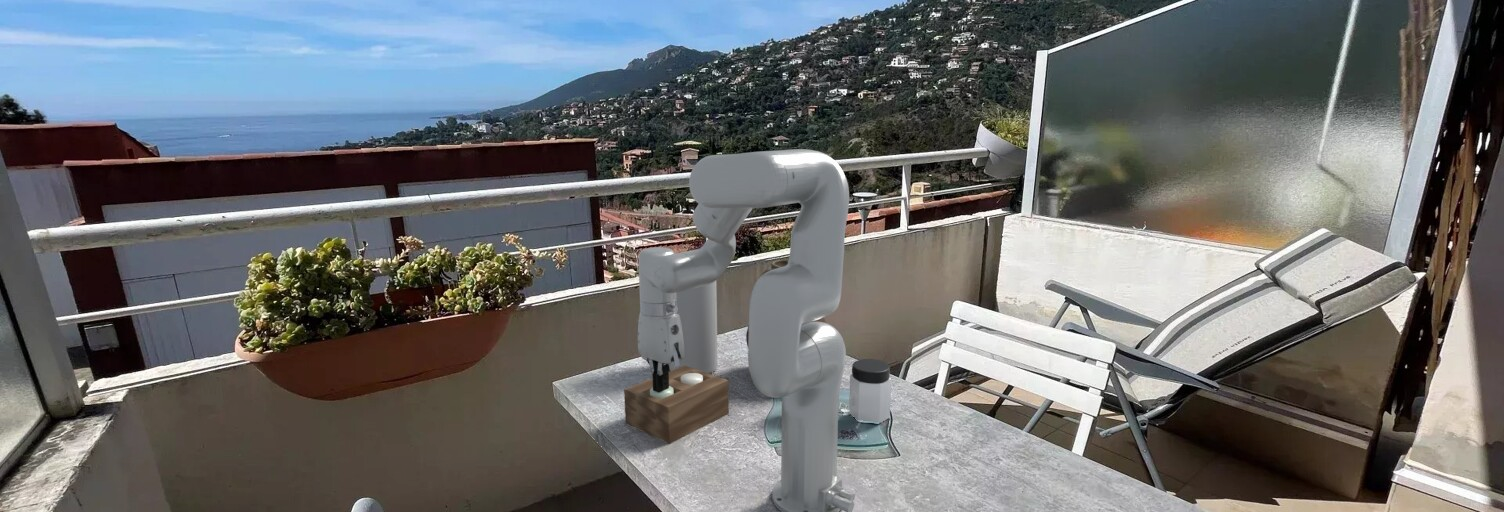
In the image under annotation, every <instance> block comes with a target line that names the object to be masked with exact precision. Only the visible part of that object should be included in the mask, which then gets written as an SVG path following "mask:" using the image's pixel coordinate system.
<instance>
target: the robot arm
mask: <svg viewBox="0 0 1504 512" xmlns="http://www.w3.org/2000/svg"><path fill="white" fill-rule="evenodd" d="M688 180H689V181H688V187H689V191H690V194H691V197H692V198H693V199H694V201H695V202H696V203H697V206H696V207H695V209H694V210H693V213H692V221H693V225H694V227H695V229H697V231H698V232H699V233H700V234H701V235H702V236H703V237H704V238H706V241H705V242H704V244H703V245H702V246H701V247H700V248H697V249H691V250H687V251H683V252H682V251H681V252H677V253H675V251H673V249H671V248H667V247H665V246H664V247H662V246H661V247H660V246H656V247H655V246H654V247H653V246H652V247H648V248H644V249H642V250H641V251H640V252H639V254H638V281H639V285H638V286H639V306H640V307H639V311H640V312H639V315H638V321H637V348H638V349H637V350H638V353H639V354H640V355H641V358H642V359H643V360H644V361H646V362H647V364H648V366H649V371H650V373H651V375H652V377H651V378H653V391H656V392H658V393H659V392H661V391H664V390H666V389H668V388H669V372H670V371H671V370H675V369H678V368H679V367H680V365H679V360H678V359H683V358H684V339H683V330H682V324H681V320H680V316H679V314H677V311H678V307H677V299H676V293H678V292H682V291H686V290H689V289H693V288H697V287H701V286H705V285H709V284H711V283H713V282H715V281H716V282H717V280H719V278H720V277H721V276H723V274H724V273H725V271H726V270H727V268H728V267H729V266H730V264H731V263H732V261H733V259H734V258H735V254H736V250H737V249H736V247H737V239H736V235H735V234H736V233H737V231H738V230H739V229H740V227H741V226H742V224H743V223H744V222H745V220H746V219H747V217H749V216H748V215H749V214H750V213H751V212H752V210H753V209H761V208H762V209H763V208H772V207H777V206H783V205H784V206H786V205H791V204H797V203H798V204H800V205H801V206H800V210H799V212H798V214H797V216H796V218H795V220H794V222H793V226H792V228H791V231H790V232H791V233H790V246H789V247H790V249H789V257H788V261H789V262H788V264H787V265H786V266H784V267H780V268H776V269H773V270H770V271H768V272H766V273H765V274H763V273H762V274H763V275H762V274H761V275H760V277H759V278H758V280H756V282H755V284H754V286H753V288H752V291H751V293H750V298H749V312H748V315H749V316H748V326H749V339H748V347H747V359H748V361H747V363H748V370H749V375H750V378H751V380H752V382H753V385H754V386H755V387H756V388H757V390H758V391H759V392H760V393H761V394H762V395H764V396H766V397H768V398H773V399H774V398H775V399H777V398H778V399H779V398H780V399H781V398H782V402H781V439H780V441H781V444H780V445H781V447H780V448H781V449H780V450H781V452H780V453H781V454H780V455H781V457H780V458H781V459H780V461H781V463H780V464H781V465H780V467H781V470H780V472H781V473H780V480H778V482H776V483H775V485H773V488H772V490H771V495H772V496H771V500H772V503H773V505H774V506H775V508H777V510H779V511H780V512H840V511H843V512H853V510H854V507H855V502H854V500H855V497H856V495H855V493H853V492H850V491H847V490H845V489H844V488H843V478H842V477H839V476H837V474H838V473H837V470H838V467H837V466H838V431H839V430H838V429H839V412H840V411H839V407H840V392H841V384H842V379H843V376H844V375H843V374H844V369H845V366H846V359H847V357H846V356H847V355H846V352H847V351H846V350H847V349H846V346H845V341H844V338H843V337H842V335H841V333H840V332H839V331H838V330H837V329H836V328H835V327H834V326H833V325H831V324H829V323H827V322H826V323H823V322H812V321H815V320H818V319H820V318H823V317H824V318H825V317H828V316H829V315H831V314H833V313H834V312H836V310H837V309H838V307H839V305H840V302H841V298H842V287H843V286H842V285H843V283H842V282H843V273H844V271H843V269H844V256H845V236H846V227H847V221H848V220H847V219H848V214H849V205H850V191H849V190H850V189H849V184H848V179H847V177H846V175H845V172H844V170H843V169H842V168H841V165H840V164H839V163H838V162H837V161H836V160H835V159H833V158H832V157H831V156H830V155H828V154H826V153H824V152H822V151H818V150H813V149H808V148H807V149H803V148H800V149H781V150H764V151H763V150H762V151H753V152H752V151H751V152H743V153H741V152H740V153H734V154H732V153H730V154H713V155H707V156H705V157H703V158H701V159H700V160H698V161H697V162H696V163H695V165H694V166H693V168H692V170H691V172H690V175H689V179H688Z"/></svg>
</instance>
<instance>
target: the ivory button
mask: <svg viewBox="0 0 1504 512" xmlns="http://www.w3.org/2000/svg"><path fill="white" fill-rule="evenodd" d="M702 381H703V376H702V375H701V374H698V373H687V374H684V375H682V376H681V382H682V383H685V384H687V385H690V386H693V385H695V384H697V383H700V382H702Z"/></svg>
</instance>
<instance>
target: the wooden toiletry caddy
mask: <svg viewBox="0 0 1504 512" xmlns="http://www.w3.org/2000/svg"><path fill="white" fill-rule="evenodd" d="M687 373H698V374H701V375H702V376H703V381H702V382H700V383H697V384H695V385H693V386H690V385H687V384H685V383H682V382H681V376H682V375H684V374H687ZM669 386H671V387H672V388H673V391H674V394H672V395H670V396H668V397H665V398H663V399H661V400H660V399H658V398H655V397H653V396H650V389H651V388H653V378H652V377H651V378H649V379H646V380H644V381H642V382H639V383H636V384H633V385H631V386H628V387H626V388H624V389H623V393H624V418H625V424H626V425H628V426H630V427H632V428H634V429H637V430H639V431H641V432H642V433H645V434H647V435H650V436H652V437H654V438H656V439H658V440H660V441H663V442H665V443H667V444H669V445H670V444H672V443H674V442H676V441H678V440H680V439H683V438H684V437H686V436H687V435H690V434H691V433H694V432H696V431H697V430H700V429H701V428H703V427H704V428H705V427H706V426H707V425H709V424H711V423H714V422H715V421H717V420H719V419H721V418H723V417H725V416H726V415H729V412H730V411H729V409H730V408H729V407H730V405H729V403H730V401H729V399H730V397H729V395H730V393H729V391H730V390H729V379H726V378H724V377H721V376H717V375H714V374H713V373H710V374H709V373H706V372H703V371H700V370H697V369H694V368H691V367H688V366H685V365H684V366H681V367H679V368H678V369H675V370H671V371H670V372H669Z"/></svg>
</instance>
